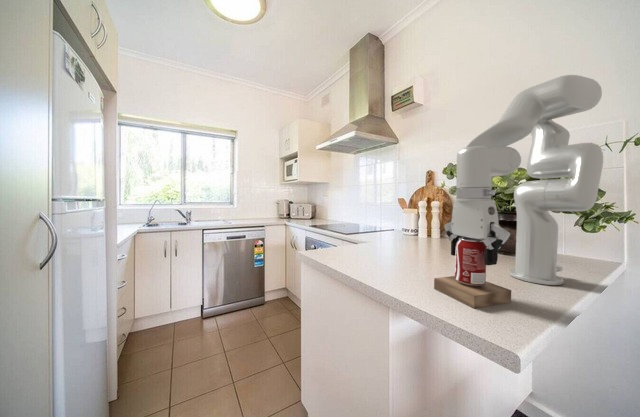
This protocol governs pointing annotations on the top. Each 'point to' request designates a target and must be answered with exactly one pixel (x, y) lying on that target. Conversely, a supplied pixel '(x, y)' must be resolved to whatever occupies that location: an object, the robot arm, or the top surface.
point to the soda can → (470, 262)
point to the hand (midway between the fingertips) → (472, 259)
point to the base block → (473, 292)
